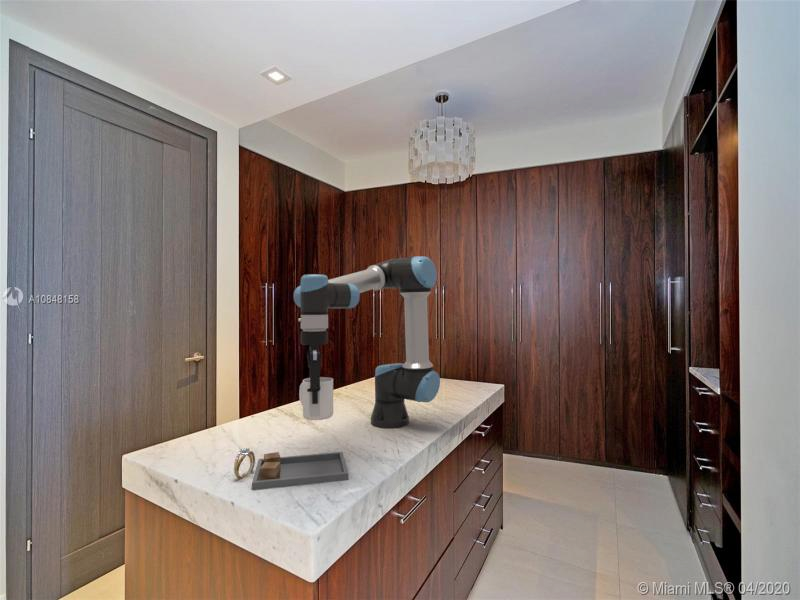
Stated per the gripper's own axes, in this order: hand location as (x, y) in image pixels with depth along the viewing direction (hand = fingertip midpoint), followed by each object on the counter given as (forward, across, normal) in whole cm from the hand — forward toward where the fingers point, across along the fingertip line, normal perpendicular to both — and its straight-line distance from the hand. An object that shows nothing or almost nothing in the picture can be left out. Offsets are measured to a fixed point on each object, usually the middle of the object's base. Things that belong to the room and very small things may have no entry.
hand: (314, 410), depth 112 cm
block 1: (+17, -3, -11) cm, 21 cm away
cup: (+2, -1, 0) cm, 2 cm away
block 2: (+17, +4, -11) cm, 20 cm away
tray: (+17, 0, -3) cm, 18 cm away
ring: (+18, -1, -18) cm, 26 cm away
